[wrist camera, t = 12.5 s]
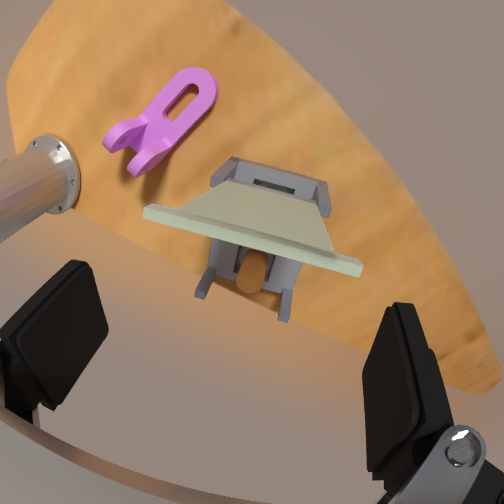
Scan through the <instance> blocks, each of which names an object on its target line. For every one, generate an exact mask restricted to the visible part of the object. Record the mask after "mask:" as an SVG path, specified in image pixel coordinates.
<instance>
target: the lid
mask: <svg viewBox="0 0 504 504" xmlns="http://www.w3.org/2000/svg"><path fill="white" fill-rule="evenodd" d="M316 204H317V201H314V200H310V199H307V198H303V197H300V196H296V195H293V194H289V193H286V192H282V191H278V190H275V189H271V188H267V187H263V186H259V185H256V184H252V183H248V182H244V181H240V180H236V179H232V178H227V180H226V181H224V182H222V183H220V184H219V185H217V186H215V187H214V188H212V189H210V190H208V191H207V192H205V193H203V194H201V195H200V196H198V197H196V198H195V199H193V200H191V201H190V202H188V203H186V204H185V205H183V206H181V207H180V208H178V209H172V208H168V207H165V206H161V205H157V204H153V203H152V204H150V205H148V206H146V207H144V212H143V219H146V220H150V221H154V222H157V223H161V224H165V225H169V226H172V227H176V228H180V229H183V230H187V231H191V232H194V233H198V234H202V235H205V236H209V237H213V238H216V239H220V240H224V241H227V242H231V243H235V244H238V245H242V246H246V247H249V248H253V249H257V250H260V251H264V252H268V253H271V254H275V255H279V256H282V257H286V258H289V259H293V260H297V261H300V262H304V263H308V264H311V265H315V266H319V267H322V268H326V269H329V270H333V271H337V272H340V273H344V274H348V275H351V276H355V277H358V278H359V277H360V275H361V272H362V270H363V265H362V263H361V261H360V260H359V259H356V258H352V257H349V256H345V255H342V254H338V253H335V252H334V249H333V246H332V244H331V241H330V238H329V236H328V233H327V230H326V228H325V225H324V222H323V220H322V217H321V215H320V212H319V210H318V207H317V205H316Z"/></svg>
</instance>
